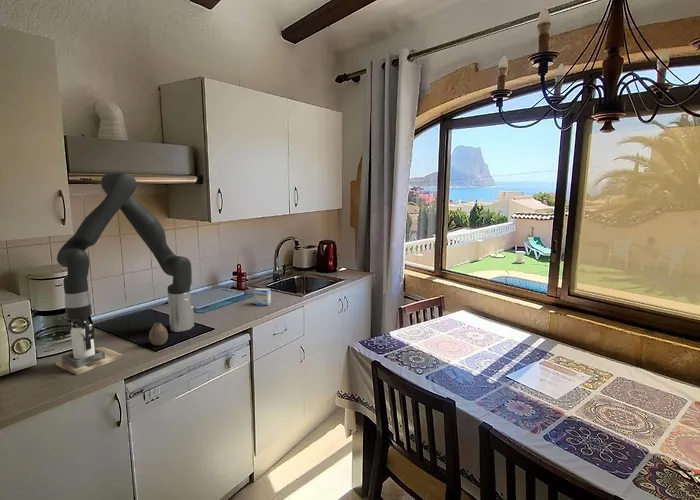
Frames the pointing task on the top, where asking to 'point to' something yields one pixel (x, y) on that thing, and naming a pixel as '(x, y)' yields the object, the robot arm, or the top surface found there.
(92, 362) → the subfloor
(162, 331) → the vase
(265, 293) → the medicine box
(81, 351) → the can
